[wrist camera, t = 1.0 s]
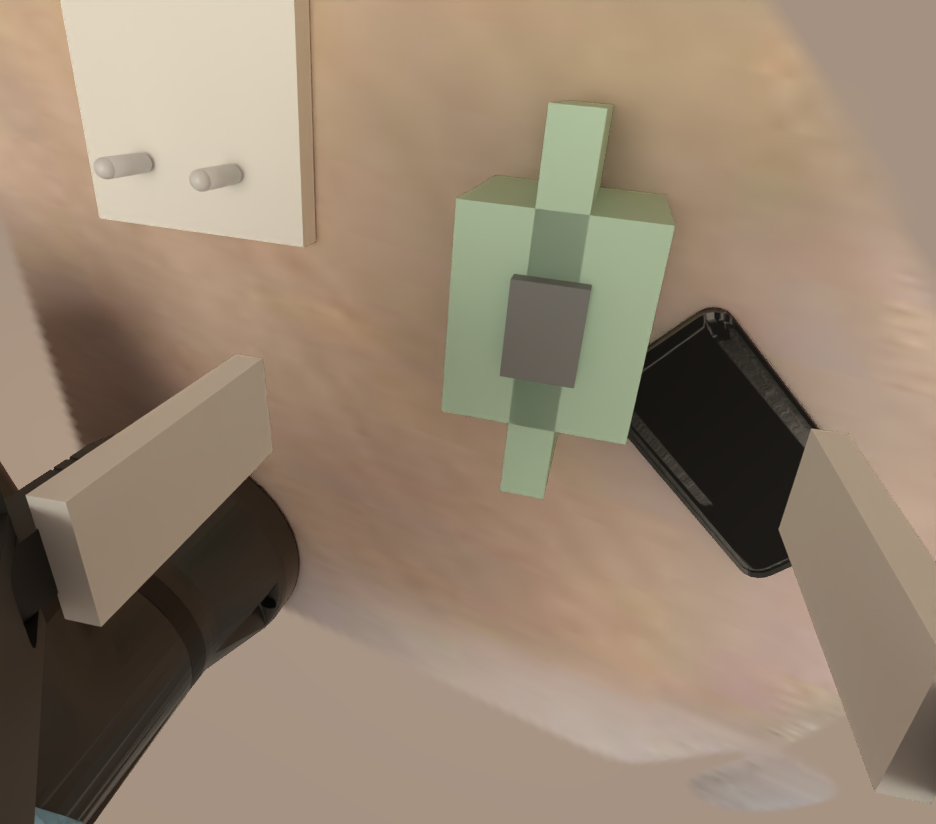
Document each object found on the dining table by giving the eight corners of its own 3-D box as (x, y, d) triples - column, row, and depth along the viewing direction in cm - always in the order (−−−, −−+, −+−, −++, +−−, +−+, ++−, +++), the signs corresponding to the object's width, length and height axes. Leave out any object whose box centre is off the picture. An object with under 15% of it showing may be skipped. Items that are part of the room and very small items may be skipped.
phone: (720, 302, 30) (889, 522, 33) (717, 295, 31) (882, 510, 34) (587, 392, 34) (750, 585, 37) (588, 384, 35) (747, 572, 38)
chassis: (315, 241, 34) (269, 263, 30) (118, 213, 36) (48, 230, 32) (302, -237, 26) (234, -305, 21) (43, -240, 28) (-68, -302, 23)
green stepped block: (615, 429, 35) (609, 523, 28) (474, 404, 37) (431, 487, 29) (683, 111, 28) (701, 118, 20) (503, 94, 29) (457, 94, 22)
